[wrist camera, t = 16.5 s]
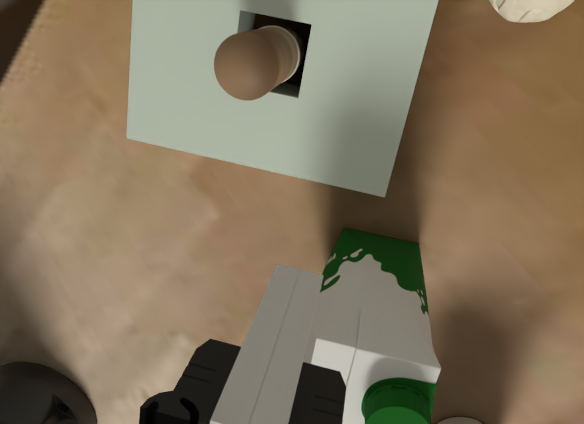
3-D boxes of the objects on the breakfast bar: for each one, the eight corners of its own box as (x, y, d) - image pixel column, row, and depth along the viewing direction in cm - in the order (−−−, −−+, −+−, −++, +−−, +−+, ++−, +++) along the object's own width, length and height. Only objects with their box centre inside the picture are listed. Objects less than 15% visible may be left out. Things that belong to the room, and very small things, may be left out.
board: (151, 125, 48) (126, 138, 43) (166, -97, 40) (137, -109, 36) (385, 177, 46) (384, 197, 41) (444, -45, 38) (452, -51, 34)
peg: (258, 69, 44) (209, 94, 32) (265, 18, 42) (216, 24, 31) (305, 79, 44) (273, 108, 32) (314, 28, 42) (284, 38, 30)
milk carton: (408, 315, 51) (418, 492, 32) (318, 294, 51) (279, 455, 33) (431, 236, 47) (457, 386, 29) (334, 215, 48) (301, 347, 30)
